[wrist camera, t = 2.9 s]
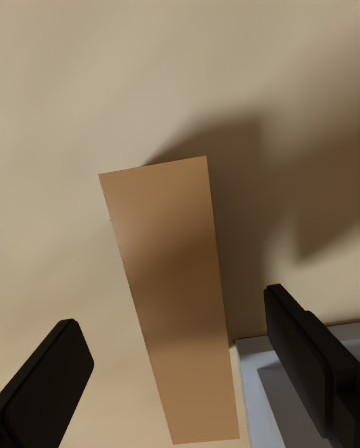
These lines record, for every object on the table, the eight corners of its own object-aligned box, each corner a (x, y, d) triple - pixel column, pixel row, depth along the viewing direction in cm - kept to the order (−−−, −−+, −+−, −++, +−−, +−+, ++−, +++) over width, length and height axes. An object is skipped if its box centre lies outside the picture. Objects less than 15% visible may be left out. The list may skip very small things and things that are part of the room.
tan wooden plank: (132, 172, 11) (92, 175, 6) (195, 161, 11) (206, 155, 6) (173, 354, 15) (169, 444, 10) (220, 349, 14) (239, 438, 10)
